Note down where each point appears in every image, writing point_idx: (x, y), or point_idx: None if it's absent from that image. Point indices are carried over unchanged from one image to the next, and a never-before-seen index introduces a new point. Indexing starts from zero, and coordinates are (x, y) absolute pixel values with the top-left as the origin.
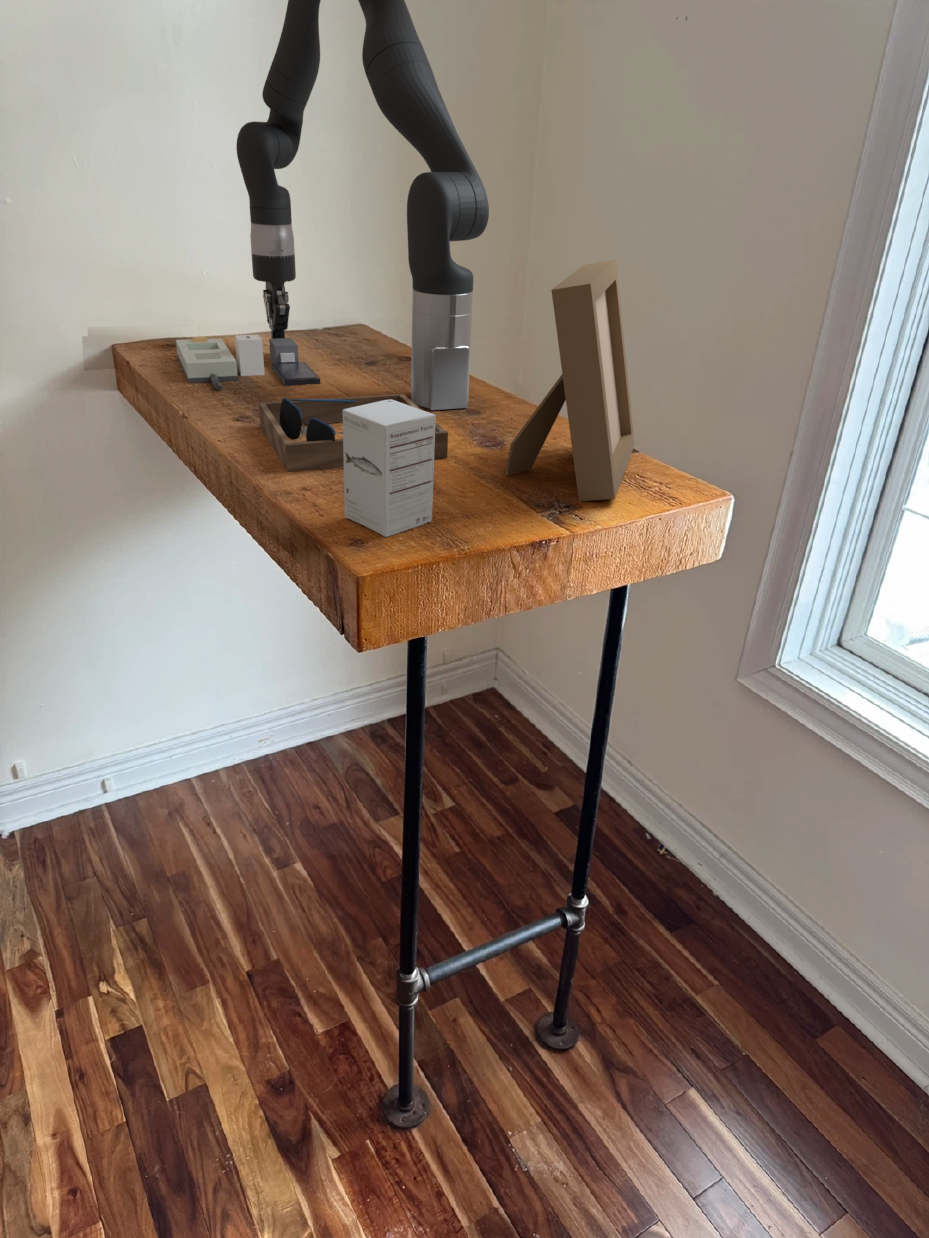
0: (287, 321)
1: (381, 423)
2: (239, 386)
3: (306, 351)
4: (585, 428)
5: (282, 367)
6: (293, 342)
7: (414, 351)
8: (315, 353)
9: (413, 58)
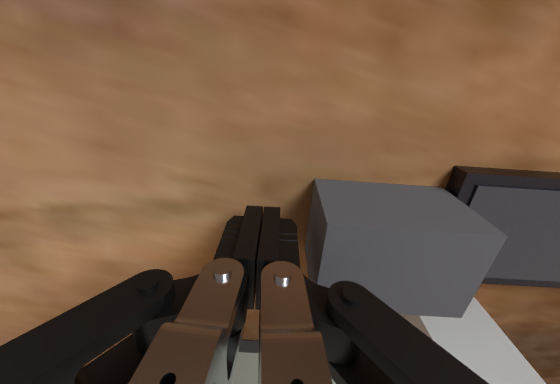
0: (433, 345)
1: None
2: (537, 357)
3: (182, 76)
4: None
5: (503, 266)
6: (437, 239)
7: None
8: (231, 41)
9: None
